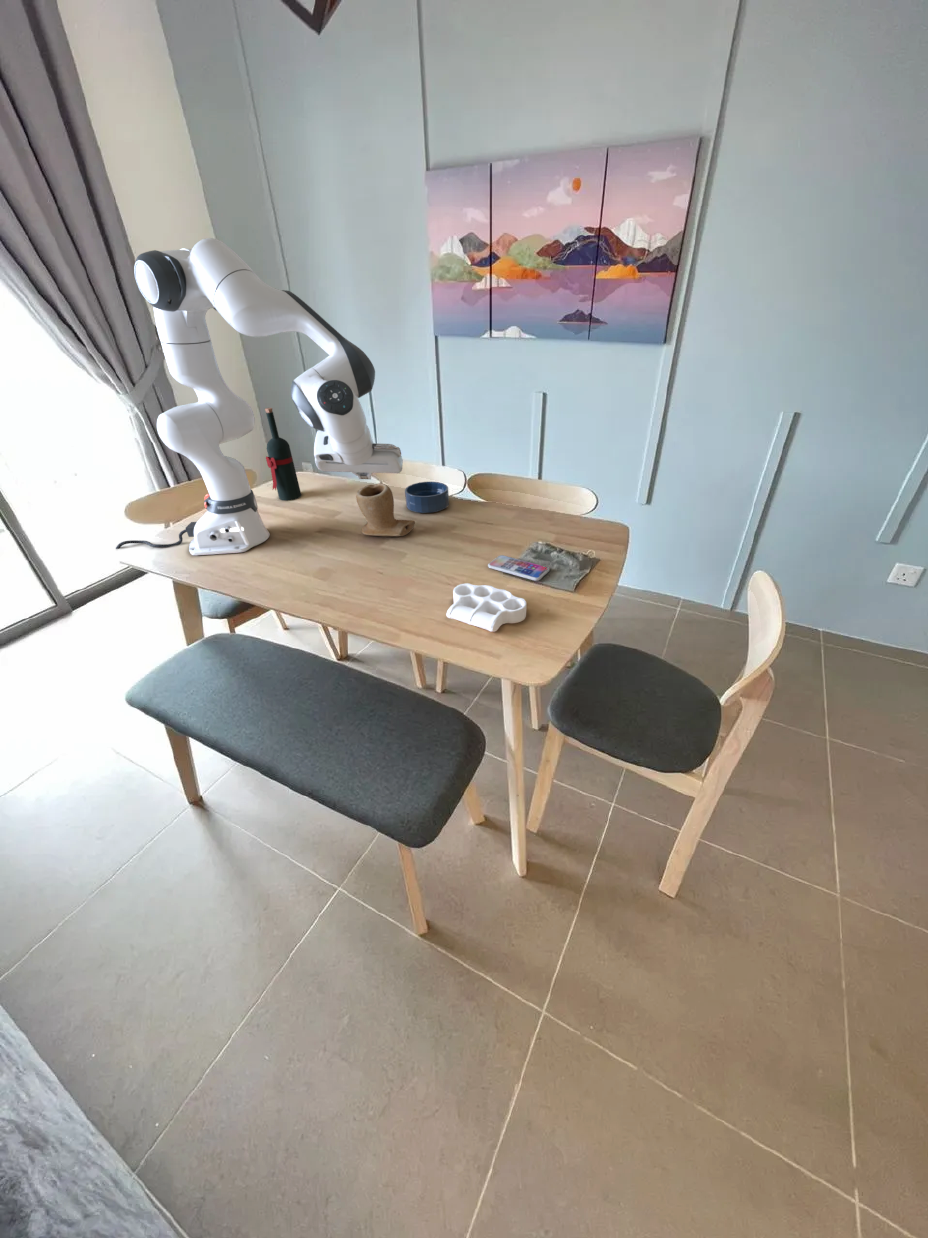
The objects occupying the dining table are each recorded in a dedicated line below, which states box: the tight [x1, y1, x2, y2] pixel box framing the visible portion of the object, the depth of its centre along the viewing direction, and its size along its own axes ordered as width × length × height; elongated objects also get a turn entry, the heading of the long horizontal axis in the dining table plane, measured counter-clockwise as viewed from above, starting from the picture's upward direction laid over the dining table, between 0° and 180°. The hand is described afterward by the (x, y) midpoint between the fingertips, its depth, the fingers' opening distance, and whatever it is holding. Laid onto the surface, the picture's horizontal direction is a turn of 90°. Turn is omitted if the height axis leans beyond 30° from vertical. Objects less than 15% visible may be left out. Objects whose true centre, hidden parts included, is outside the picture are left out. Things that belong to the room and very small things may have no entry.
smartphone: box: [487, 554, 550, 582], centre depth 127 cm, size 7×1×15 cm
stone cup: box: [355, 482, 416, 537], centre depth 144 cm, size 15×12×15 cm
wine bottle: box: [264, 407, 302, 502], centre depth 168 cm, size 8×10×30 cm
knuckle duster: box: [445, 582, 528, 633], centre depth 111 cm, size 3×18×15 cm
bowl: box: [404, 481, 450, 514], centre depth 164 cm, size 14×14×6 cm
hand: (365, 476), depth 123 cm, fingers closed
